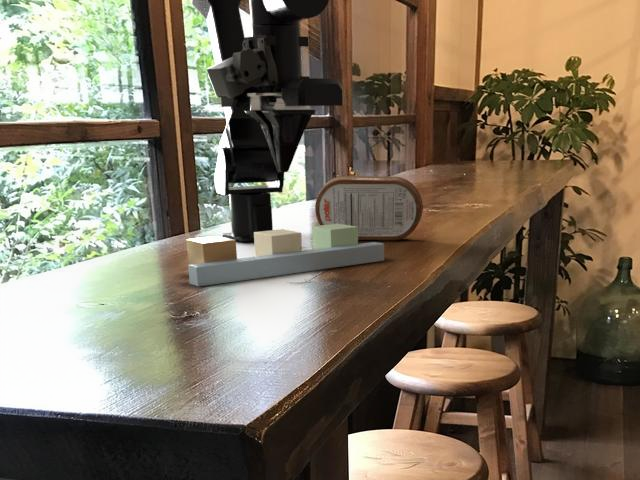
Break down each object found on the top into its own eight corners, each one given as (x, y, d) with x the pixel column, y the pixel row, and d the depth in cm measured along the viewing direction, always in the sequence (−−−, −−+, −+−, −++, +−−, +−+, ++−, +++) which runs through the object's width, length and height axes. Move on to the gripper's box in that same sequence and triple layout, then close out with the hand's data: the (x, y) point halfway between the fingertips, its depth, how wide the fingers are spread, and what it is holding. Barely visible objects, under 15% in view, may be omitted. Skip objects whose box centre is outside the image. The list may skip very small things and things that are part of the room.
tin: (422, 238, 115) (423, 175, 111) (421, 241, 112) (422, 177, 108) (317, 237, 116) (315, 175, 113) (314, 241, 113) (312, 177, 110)
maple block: (189, 276, 90) (186, 239, 89) (221, 272, 92) (218, 235, 91) (206, 281, 87) (202, 243, 86) (238, 277, 90) (235, 239, 88)
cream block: (255, 267, 95) (253, 232, 93) (284, 263, 97) (283, 229, 95) (273, 272, 92) (271, 235, 90) (302, 268, 94) (301, 232, 93)
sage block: (313, 260, 99) (311, 226, 98) (339, 256, 101) (338, 223, 100) (331, 264, 96) (330, 229, 95) (358, 260, 99) (358, 226, 97)
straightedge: (189, 283, 86) (187, 264, 85) (374, 258, 100) (374, 241, 99) (198, 286, 85) (196, 267, 84) (384, 260, 98) (384, 243, 98)
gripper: (175, 30, 95) (189, 171, 102) (256, 16, 82) (266, 180, 88) (257, 34, 101) (265, 167, 108) (345, 21, 88) (347, 174, 95)
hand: (282, 172), depth 100 cm, fingers closed
